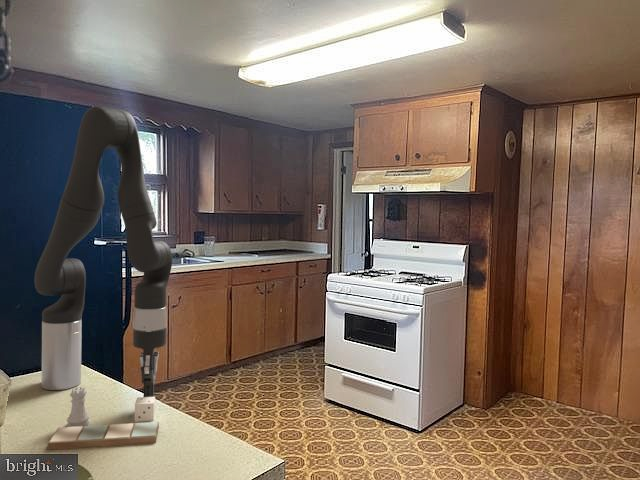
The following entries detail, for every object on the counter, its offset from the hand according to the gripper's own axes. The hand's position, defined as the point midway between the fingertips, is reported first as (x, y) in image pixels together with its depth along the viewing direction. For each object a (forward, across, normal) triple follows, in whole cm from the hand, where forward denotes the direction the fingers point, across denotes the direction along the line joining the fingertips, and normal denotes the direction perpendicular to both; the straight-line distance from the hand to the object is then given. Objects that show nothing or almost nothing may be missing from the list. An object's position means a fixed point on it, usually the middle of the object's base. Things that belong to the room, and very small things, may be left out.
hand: (148, 397), depth 117 cm
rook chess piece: (+3, +7, -14) cm, 16 cm away
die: (+3, +5, 0) cm, 6 cm away
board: (+3, +14, -7) cm, 16 cm away
